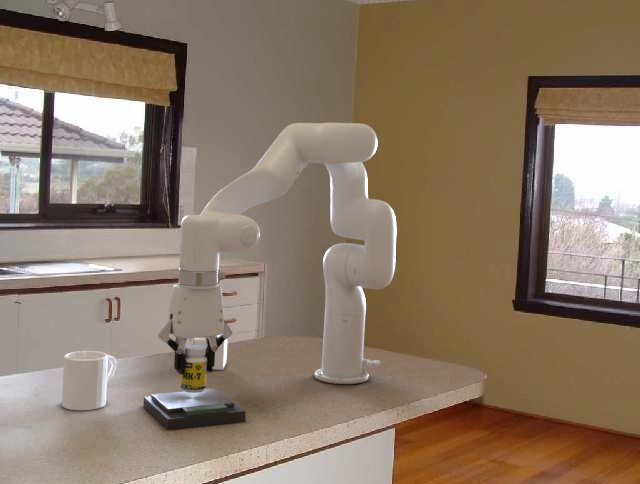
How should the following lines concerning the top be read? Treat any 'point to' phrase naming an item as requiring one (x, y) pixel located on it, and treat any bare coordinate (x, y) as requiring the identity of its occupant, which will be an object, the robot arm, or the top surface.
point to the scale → (195, 415)
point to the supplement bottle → (194, 369)
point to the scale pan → (190, 400)
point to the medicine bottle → (219, 354)
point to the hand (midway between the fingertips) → (194, 370)
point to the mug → (86, 379)
